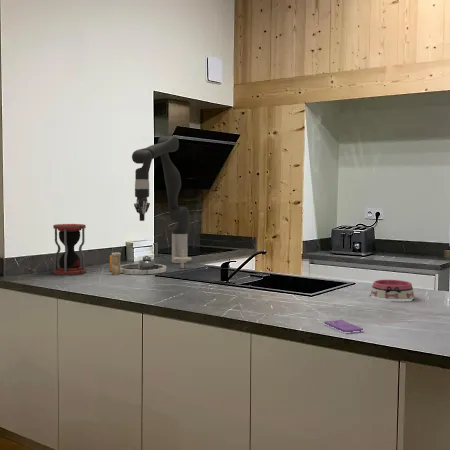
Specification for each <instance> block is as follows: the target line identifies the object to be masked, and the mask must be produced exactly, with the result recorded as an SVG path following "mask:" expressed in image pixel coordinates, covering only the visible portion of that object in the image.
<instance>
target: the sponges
mask: <svg viewBox="0 0 450 450" xmlns="http://www.w3.org/2000/svg"><path fill="white" fill-rule="evenodd" d="M323 322H324V324H327V325H329V326H331V327H334V328H336V329H338V330H341V331H343V332H353V331H361V330H363V331H364V328H363V327H360V326H358V325H356V324H353V323H350V322H348V321H345V320H343V319H336V320H325V321H323Z"/></svg>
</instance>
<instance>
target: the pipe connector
mask: <svg viewBox="0 0 450 450" xmlns="http://www.w3.org/2000/svg"><path fill="white" fill-rule="evenodd" d="M173 260H174V261H180V262H181V263H180V269H184V268H185V263H184V261H187V262H191V261H192V257H189V256H187V257H184V250H181V257H173Z"/></svg>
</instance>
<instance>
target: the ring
mask: <svg viewBox="0 0 450 450" xmlns="http://www.w3.org/2000/svg"><path fill="white" fill-rule="evenodd" d="M135 268H138V269H135ZM109 271H110V272H112V254H110V255H109ZM166 272H167V265H164V264H160V263H154V269H151V270H139V262H138V263H127V264H120V274H124V275H125V274H126V275H155V274H162V273H166Z"/></svg>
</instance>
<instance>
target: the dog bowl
mask: <svg viewBox="0 0 450 450" xmlns="http://www.w3.org/2000/svg"><path fill="white" fill-rule="evenodd" d="M412 284H413V283H411V282H409V281H406V280H399V279H377V280H375V281H373V283H372V285H371V287H372V288H371V289H370V293H369V295H370V294H371V295H372V296H375V297H379V298H386V299H412V298H414V297H415V293H414V292H415V291H414V287H413V285H412Z"/></svg>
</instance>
